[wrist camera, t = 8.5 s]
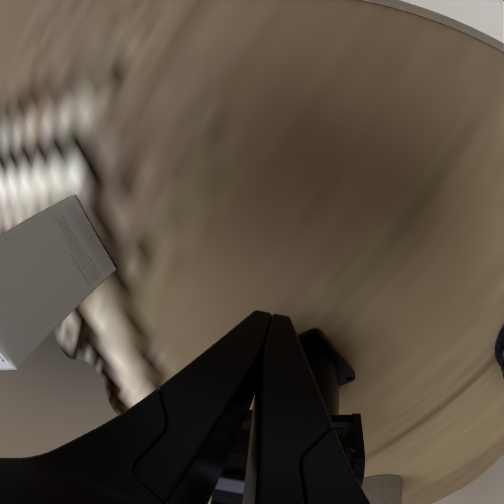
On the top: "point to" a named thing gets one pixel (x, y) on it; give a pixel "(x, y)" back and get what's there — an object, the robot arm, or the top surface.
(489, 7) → the panel
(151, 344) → the top surface
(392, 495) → the thermos bottle
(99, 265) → the supplement box
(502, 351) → the storage jar
